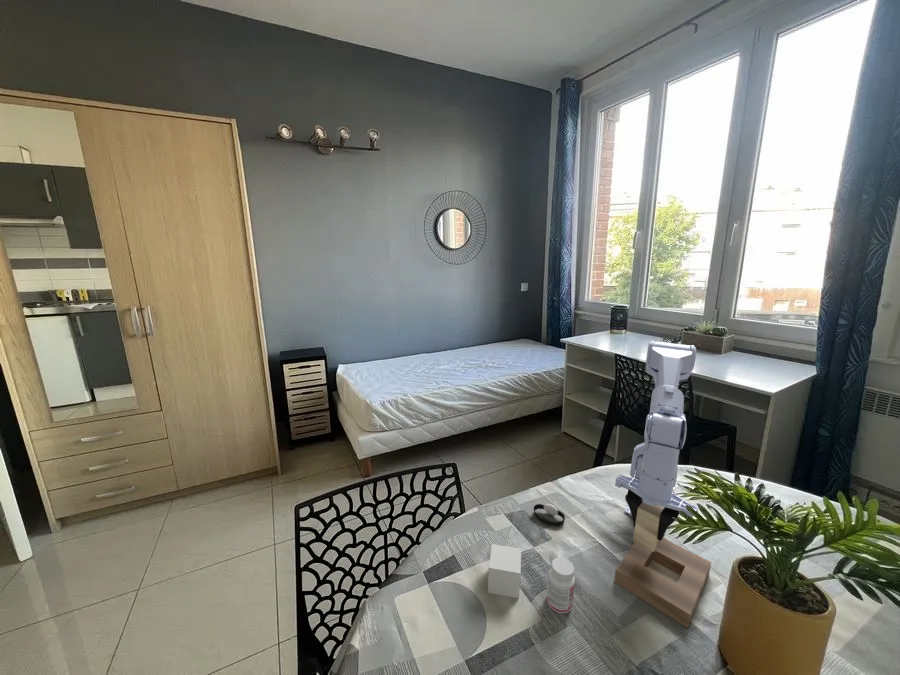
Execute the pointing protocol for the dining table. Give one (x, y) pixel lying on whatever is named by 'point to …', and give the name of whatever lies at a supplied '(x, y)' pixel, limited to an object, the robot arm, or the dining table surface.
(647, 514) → the beech peg
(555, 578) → the pill bottle
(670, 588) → the socket block
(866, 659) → the dining table surface
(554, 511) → the watch
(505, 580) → the white cube
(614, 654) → the dining table surface
